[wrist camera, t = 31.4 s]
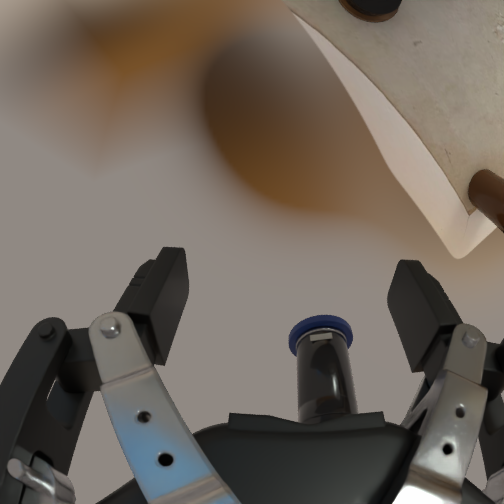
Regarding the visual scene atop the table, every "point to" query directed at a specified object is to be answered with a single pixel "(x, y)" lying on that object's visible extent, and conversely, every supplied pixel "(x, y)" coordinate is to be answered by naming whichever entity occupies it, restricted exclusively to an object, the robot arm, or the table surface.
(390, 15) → the coaster
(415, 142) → the table surface
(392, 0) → the lid
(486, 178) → the jar
